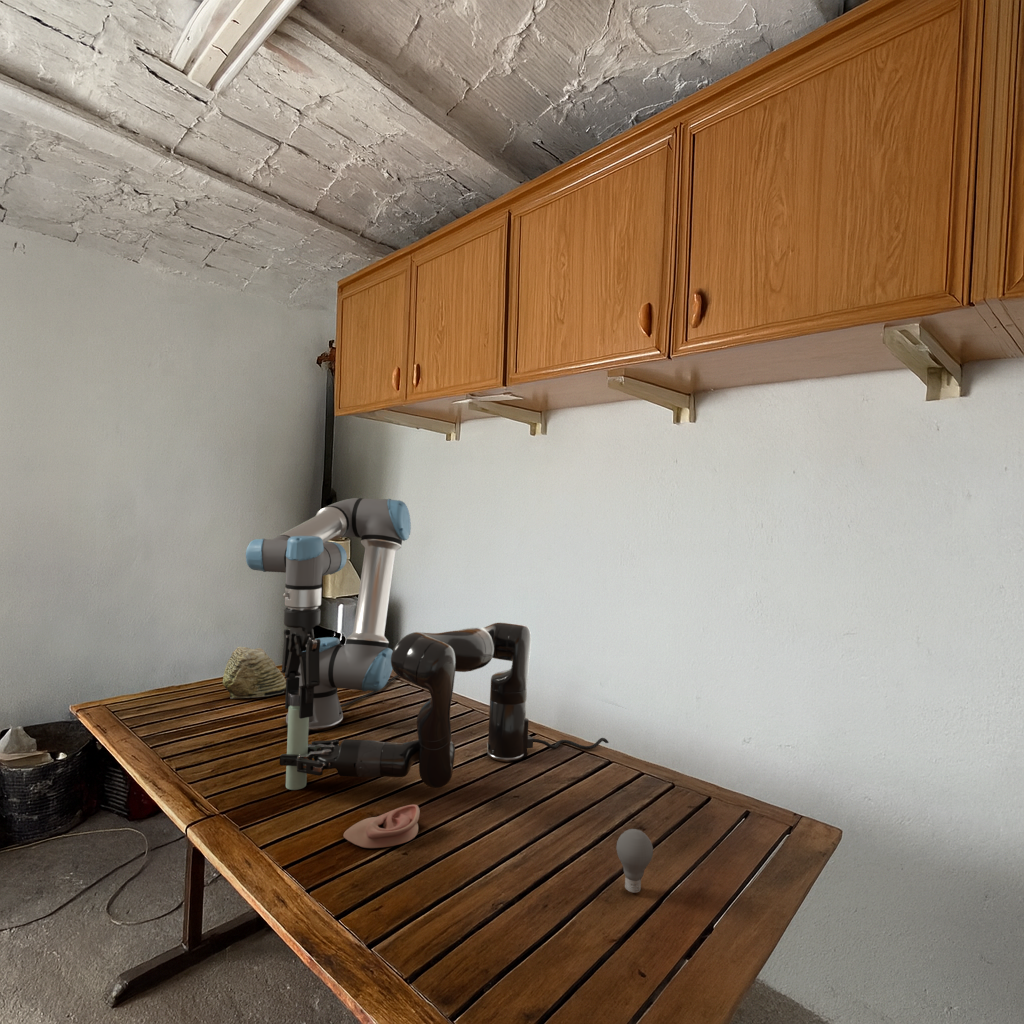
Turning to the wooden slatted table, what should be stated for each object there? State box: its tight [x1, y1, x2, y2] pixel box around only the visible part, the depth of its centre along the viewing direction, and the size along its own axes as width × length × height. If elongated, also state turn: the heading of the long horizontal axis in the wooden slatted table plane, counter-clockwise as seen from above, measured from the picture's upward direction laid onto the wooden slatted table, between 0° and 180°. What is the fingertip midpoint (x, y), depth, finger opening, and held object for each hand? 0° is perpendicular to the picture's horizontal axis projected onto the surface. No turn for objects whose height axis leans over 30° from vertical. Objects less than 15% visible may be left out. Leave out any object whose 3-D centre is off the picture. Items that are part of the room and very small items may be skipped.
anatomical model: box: [342, 804, 421, 849], centre depth 120 cm, size 13×4×12 cm
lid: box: [287, 689, 300, 706], centre depth 138 cm, size 5×5×2 cm
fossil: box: [222, 646, 286, 699], centre depth 198 cm, size 9×18×15 cm, turn 132°
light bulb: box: [615, 828, 654, 894], centre depth 106 cm, size 6×6×10 cm
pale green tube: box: [285, 705, 309, 791], centre depth 138 cm, size 4×4×20 cm
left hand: (298, 711), depth 138 cm, fingers open, 7 cm apart
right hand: (284, 755), depth 138 cm, fingers closed on pale green tube, 4 cm apart
